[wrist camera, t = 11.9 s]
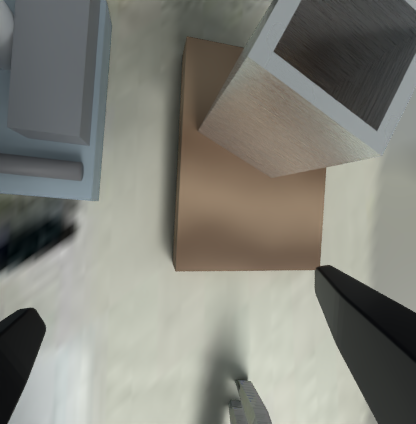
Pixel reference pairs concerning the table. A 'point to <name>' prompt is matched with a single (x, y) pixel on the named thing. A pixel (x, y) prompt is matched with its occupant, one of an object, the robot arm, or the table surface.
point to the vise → (53, 96)
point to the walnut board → (236, 188)
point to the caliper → (248, 406)
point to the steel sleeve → (317, 85)
